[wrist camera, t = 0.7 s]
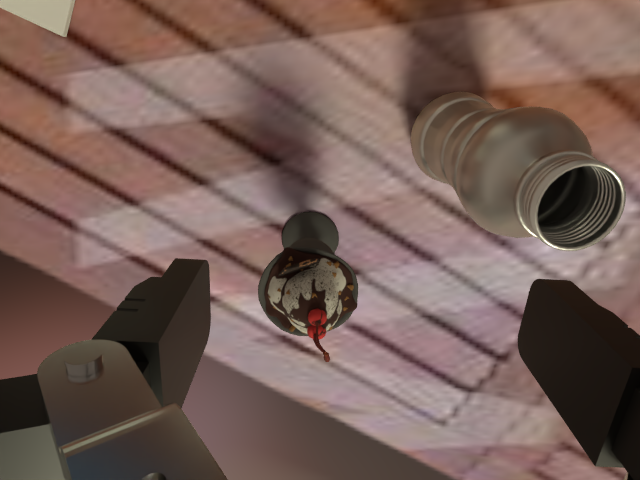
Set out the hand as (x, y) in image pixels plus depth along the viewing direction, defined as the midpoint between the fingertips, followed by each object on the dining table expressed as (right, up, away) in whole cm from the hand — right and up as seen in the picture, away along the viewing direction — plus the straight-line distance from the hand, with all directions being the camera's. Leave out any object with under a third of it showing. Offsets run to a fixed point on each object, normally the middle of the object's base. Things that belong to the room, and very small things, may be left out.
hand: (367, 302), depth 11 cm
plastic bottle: (+9, +10, +25) cm, 29 cm away
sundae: (-2, +2, +29) cm, 29 cm away
